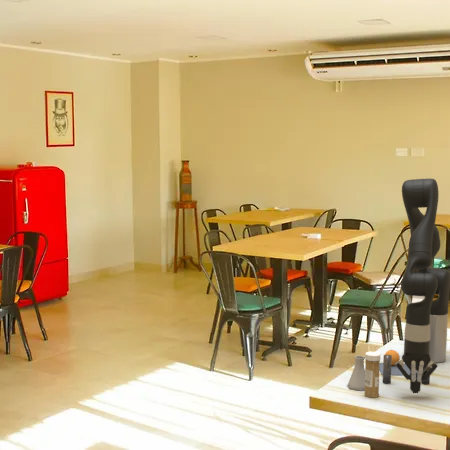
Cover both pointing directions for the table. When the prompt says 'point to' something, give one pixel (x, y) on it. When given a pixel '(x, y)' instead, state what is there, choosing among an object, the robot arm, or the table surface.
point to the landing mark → (395, 370)
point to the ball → (393, 356)
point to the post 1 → (387, 369)
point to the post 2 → (427, 382)
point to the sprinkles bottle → (372, 374)
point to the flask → (358, 375)
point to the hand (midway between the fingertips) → (414, 392)
